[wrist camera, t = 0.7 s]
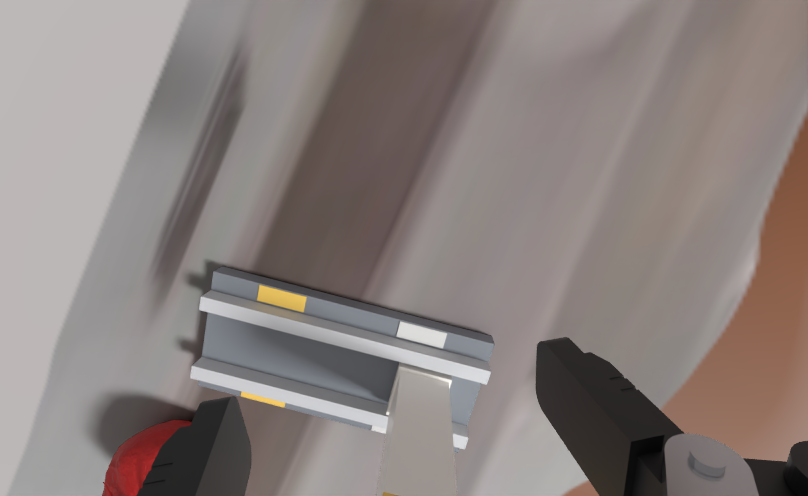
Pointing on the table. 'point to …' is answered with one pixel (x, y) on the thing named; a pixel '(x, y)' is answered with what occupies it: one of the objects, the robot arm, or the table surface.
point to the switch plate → (329, 351)
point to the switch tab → (418, 436)
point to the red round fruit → (137, 459)
